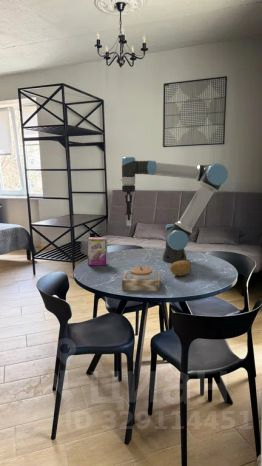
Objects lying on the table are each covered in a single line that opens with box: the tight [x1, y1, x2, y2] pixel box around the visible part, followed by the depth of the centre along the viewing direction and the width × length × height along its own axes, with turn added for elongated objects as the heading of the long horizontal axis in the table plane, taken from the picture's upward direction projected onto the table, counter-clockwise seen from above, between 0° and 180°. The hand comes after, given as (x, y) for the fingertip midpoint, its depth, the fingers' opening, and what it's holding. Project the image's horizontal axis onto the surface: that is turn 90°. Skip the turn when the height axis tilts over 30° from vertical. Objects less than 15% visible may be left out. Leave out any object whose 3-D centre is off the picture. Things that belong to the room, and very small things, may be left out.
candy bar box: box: [87, 236, 108, 267], centre depth 191 cm, size 11×5×16 cm, turn 84°
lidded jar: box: [129, 266, 153, 280], centre depth 156 cm, size 11×11×9 cm
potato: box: [169, 259, 192, 277], centre depth 171 cm, size 10×14×8 cm
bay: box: [121, 270, 160, 292], centre depth 156 cm, size 17×15×5 cm
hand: (128, 225), depth 187 cm, fingers closed
